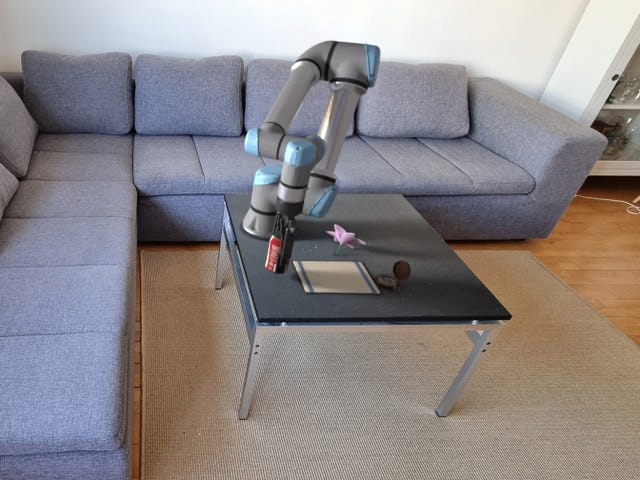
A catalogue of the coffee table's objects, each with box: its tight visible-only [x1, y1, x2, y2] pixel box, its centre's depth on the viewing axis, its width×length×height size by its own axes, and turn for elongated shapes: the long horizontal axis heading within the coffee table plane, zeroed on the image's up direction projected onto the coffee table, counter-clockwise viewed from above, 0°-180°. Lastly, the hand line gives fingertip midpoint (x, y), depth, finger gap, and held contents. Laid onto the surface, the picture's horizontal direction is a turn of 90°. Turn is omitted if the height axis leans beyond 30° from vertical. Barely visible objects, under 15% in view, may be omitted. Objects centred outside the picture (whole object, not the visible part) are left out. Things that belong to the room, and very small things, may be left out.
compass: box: [375, 259, 412, 292], centre depth 132 cm, size 8×8×7 cm
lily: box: [325, 224, 367, 256], centre depth 147 cm, size 12×12×10 cm
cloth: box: [292, 260, 381, 295], centre depth 137 cm, size 16×22×1 cm
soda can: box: [264, 231, 291, 274], centre depth 133 cm, size 7×7×12 cm
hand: (276, 265), depth 135 cm, fingers closed on soda can, 7 cm apart
